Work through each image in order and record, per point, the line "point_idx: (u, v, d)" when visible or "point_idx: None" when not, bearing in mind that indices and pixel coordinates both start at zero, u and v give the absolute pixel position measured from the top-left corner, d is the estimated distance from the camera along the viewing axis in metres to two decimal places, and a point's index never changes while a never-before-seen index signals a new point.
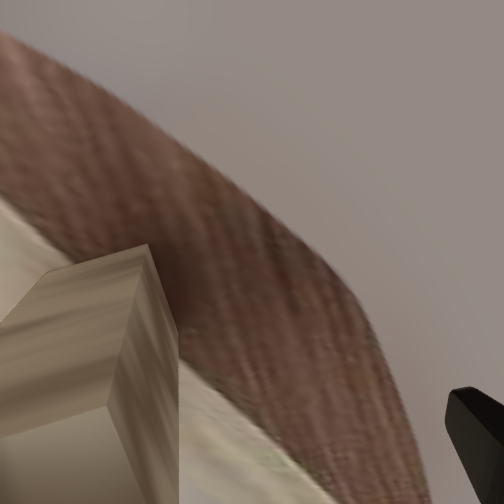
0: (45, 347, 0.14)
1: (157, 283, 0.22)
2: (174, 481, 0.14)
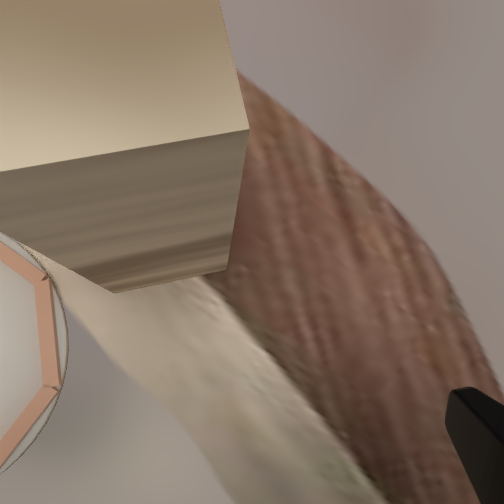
0: None
1: None
2: None
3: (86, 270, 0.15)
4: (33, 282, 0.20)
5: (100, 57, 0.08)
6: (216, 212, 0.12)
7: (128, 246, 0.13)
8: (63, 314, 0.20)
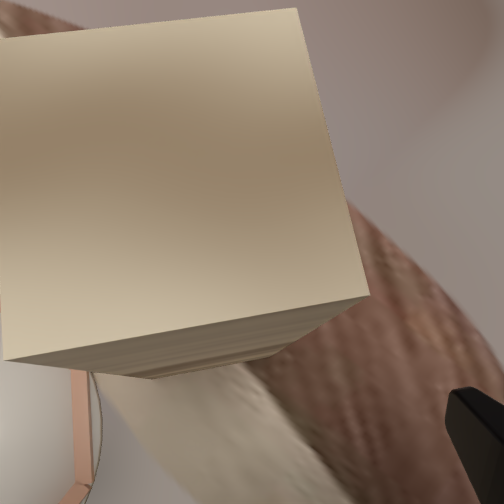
0: None
1: None
2: None
3: (135, 373, 0.14)
4: None
5: (206, 210, 0.07)
6: (290, 334, 0.11)
7: (187, 359, 0.12)
8: (98, 401, 0.19)
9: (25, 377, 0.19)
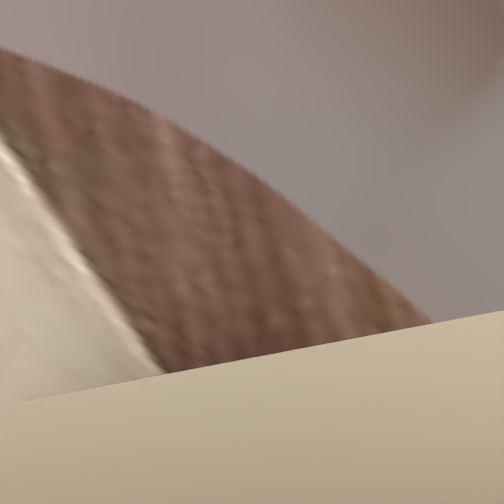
0: None
1: None
2: None
3: None
4: None
5: None
6: None
7: None
8: None
9: None
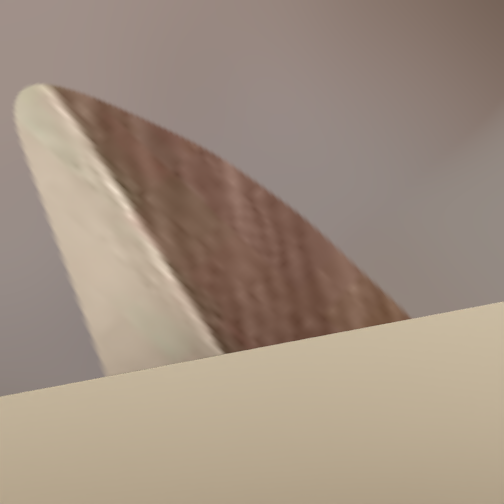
0: None
1: None
2: None
3: None
4: None
5: None
6: None
7: None
8: None
9: None
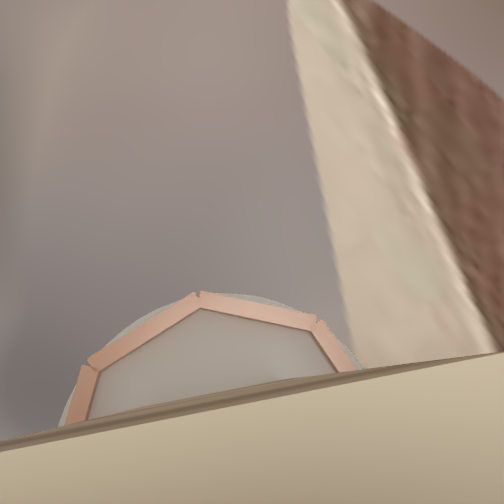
0: (208, 398, 0.07)
1: None
2: None
3: None
4: None
5: None
6: None
7: None
8: None
9: None
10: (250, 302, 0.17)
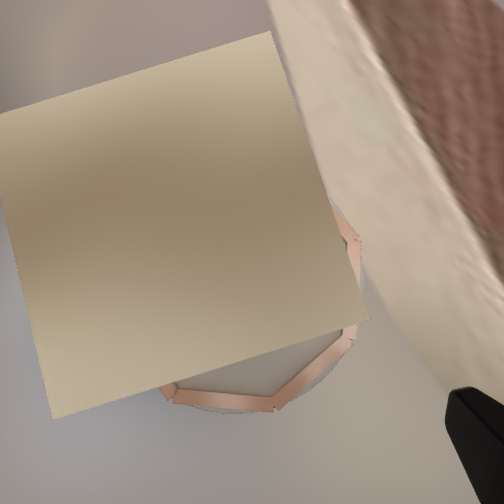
0: None
1: None
2: None
3: None
4: (347, 240, 0.21)
5: (208, 259, 0.07)
6: None
7: None
8: None
9: None
10: None
